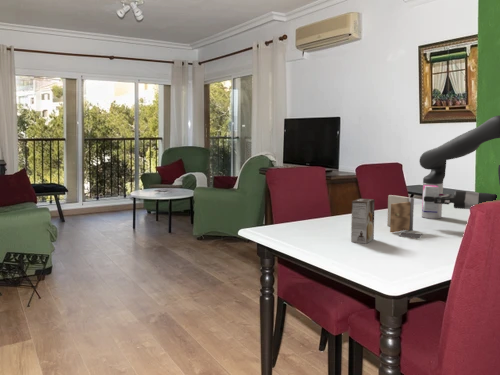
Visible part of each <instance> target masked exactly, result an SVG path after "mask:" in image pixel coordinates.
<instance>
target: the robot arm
mask: <svg viewBox="0 0 500 375" xmlns="http://www.w3.org/2000/svg"><path fill="white" fill-rule="evenodd" d="M496 139H500V114H499V115H495V116H492V117H490V118H489V119H487V120H486V121H484V122H483V123H482V124H479V125H478V126H477V127H475V128H473V129H470V130H468V131H467V132H464V133H462V134H460V135H458V136H455V137H454V138H452V139H451V140H448V141H446V142H445V143H443V144H441V145H440V146H438V147H435V148H432V149H429V150H426V151H423V153H422V154H421V155H420V158H419V166H420V167H421V168H423V169H425V170H430V172H429V174H428V175H425V176H424V177H423V178H422V188H423V187H424V185H433V186H438V187H439V196H438V197H428V196H425V197H424V201H425V202H433V203H435V204H436V203H437V204H438V212H437V213H427V212H423V211H422V210H421V217H422V218H425V219H435V220H436V219H441V218H442V214H443V212H442V211H443V205H450V204H453V208H454V209H459V210H462V209H463V210H471V209H470V207H471V206H473V205H475V204H479V203H482V202H486V201H493V200H496V198H497V195H496V194H497V193H489V192H488V193H487V192H476V191H465V190H464V191H463V190H455V191H454V194H453V195H452V194H451V193H443V191H444V190H443V189H444V180H445V176H446V167H447V161H449V160H454V159H458V158H462V157H465V156H468V155H470V154H472V153H473V152H475V151H477V150H478V148H480V146H481V145H482V144H484V143H486V142H488V141H492V140H496ZM497 169H498V170H497V174H498V184H499V185H500V165H499V164H498V168H497ZM422 202H423V197H422ZM422 202H421V203H422Z"/></svg>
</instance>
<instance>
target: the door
mask: <svg viewBox="0 0 500 375" xmlns="http://www.w3.org/2000/svg"><path fill="white" fill-rule="evenodd" d="M409 229H410V202H402V203H394V204H391V219H390V226H389V233H397V232H405V231H410V230H409Z"/></svg>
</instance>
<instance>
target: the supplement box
mask: <svg viewBox="0 0 500 375" xmlns="http://www.w3.org/2000/svg"><path fill="white" fill-rule="evenodd" d="M425 196H428V197H438V196H439V187H438V186H433V185H424V187H423V186H422V198H423V202H421V212H422V211H423V212H427V213H437V212H438V204H437V203H436V204H435V203H433V202H425V201H424V197H425Z"/></svg>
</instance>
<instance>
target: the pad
mask: <svg viewBox="0 0 500 375" xmlns="http://www.w3.org/2000/svg"><path fill="white" fill-rule="evenodd" d="M422 235H423V233H416V232H415V233H414V232H405V231H401V232H400V234H399V235H398V237H403V238H411V239H413V238H414V239H421V237H422Z"/></svg>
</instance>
